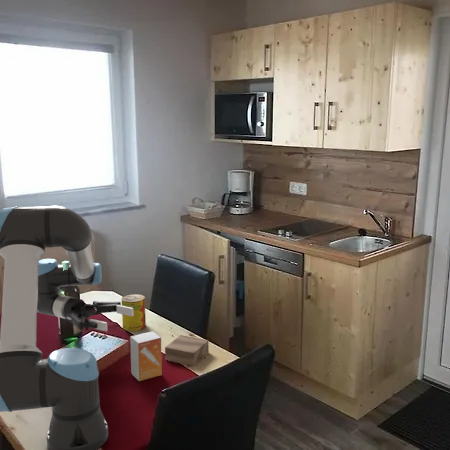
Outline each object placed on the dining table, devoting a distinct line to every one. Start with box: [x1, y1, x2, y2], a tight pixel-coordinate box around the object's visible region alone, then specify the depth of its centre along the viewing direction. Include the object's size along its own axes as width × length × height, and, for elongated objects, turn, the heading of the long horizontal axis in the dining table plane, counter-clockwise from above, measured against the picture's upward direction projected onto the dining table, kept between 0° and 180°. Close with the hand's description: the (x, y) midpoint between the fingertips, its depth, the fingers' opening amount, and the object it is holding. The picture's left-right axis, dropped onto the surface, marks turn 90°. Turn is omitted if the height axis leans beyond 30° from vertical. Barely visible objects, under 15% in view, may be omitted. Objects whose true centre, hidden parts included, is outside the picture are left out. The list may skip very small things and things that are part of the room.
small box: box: [129, 330, 163, 382], centre depth 165 cm, size 8×6×13 cm
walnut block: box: [164, 334, 210, 367], centre depth 179 cm, size 11×11×5 cm
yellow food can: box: [121, 293, 147, 332], centre depth 203 cm, size 9×9×12 cm
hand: (120, 319), depth 168 cm, fingers open, 13 cm apart
